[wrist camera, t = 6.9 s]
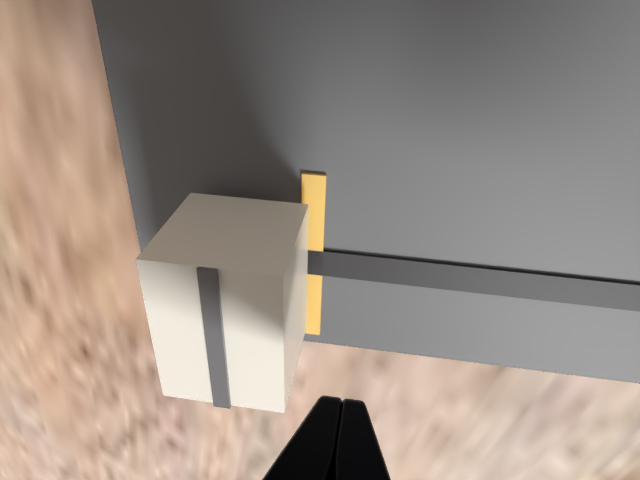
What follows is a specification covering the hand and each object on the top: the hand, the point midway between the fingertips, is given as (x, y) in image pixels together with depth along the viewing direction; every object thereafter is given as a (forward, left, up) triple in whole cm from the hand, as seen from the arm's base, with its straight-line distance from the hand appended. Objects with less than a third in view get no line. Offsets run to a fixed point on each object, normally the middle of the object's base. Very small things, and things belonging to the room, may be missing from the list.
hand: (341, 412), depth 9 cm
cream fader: (+3, 0, -4) cm, 5 cm away
